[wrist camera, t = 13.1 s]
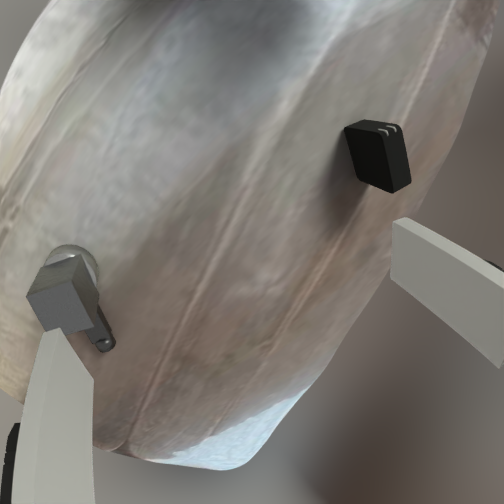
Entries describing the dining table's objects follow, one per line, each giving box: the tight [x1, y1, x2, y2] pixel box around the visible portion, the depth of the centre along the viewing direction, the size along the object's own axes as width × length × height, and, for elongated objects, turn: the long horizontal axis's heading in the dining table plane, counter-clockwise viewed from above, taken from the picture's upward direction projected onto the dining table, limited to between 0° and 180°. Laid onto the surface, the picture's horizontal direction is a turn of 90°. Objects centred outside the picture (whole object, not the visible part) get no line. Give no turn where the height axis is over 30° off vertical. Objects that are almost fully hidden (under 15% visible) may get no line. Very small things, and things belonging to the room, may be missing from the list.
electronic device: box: [344, 119, 411, 194], centre depth 47 cm, size 4×10×10 cm, turn 24°
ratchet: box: [43, 245, 116, 352], centre depth 43 cm, size 19×9×10 cm, turn 12°
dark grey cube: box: [26, 254, 99, 335], centre depth 38 cm, size 7×7×8 cm
